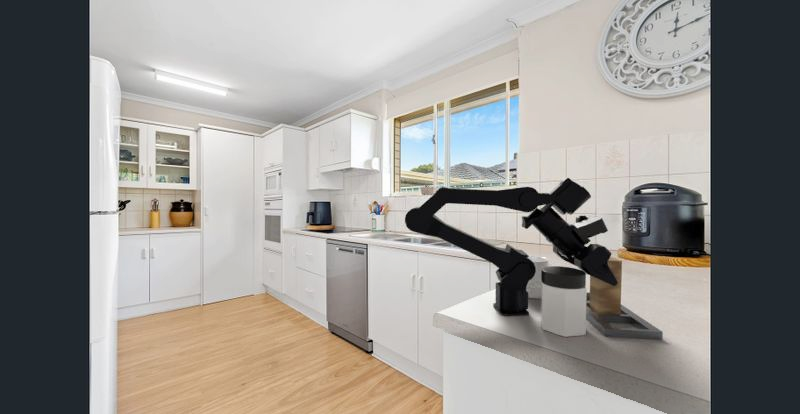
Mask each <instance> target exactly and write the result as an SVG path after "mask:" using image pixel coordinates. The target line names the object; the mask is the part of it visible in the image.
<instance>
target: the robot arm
mask: <svg viewBox="0 0 800 414" xmlns="http://www.w3.org/2000/svg"><path fill="white" fill-rule="evenodd" d="M591 198H592V195H591V193H590V192H589V191H588V189H586V188H585V187H584V186H582V185H580V184H579V183H577V182H575V181H573V180H572V178H569V177H565V178H563V179H562V180H561V181H560V183H559V184H558V185H556V187H555V188H553V189H552V191H550V192H549V193H548V192H539V191H538V190H537V189H535V188H534V187H531V186H517V187H510V188H503V189H497V190H496V189H495V190H493V189H492V190H491V189H473V188H472V189H470V188H469V189H468V188H449V187H447V186H446V187H445V186H444V187H442V186H441V187H440V188H437V190H436V192H434V194H433V195H431V197H429V198H428V199H427V200H426V201H425V202H424V203H423V204H421V205H420V206H416V207H413V208H411V209H410V210H408V211H407V212H406V214H405V217H404V223H405V227H406V228H407V229H408V230H409V231H411V232H413V233H417V234H421V235H424V236H429V237H433V238H434V237H435V238H439V239H441V240H443V241H444V242H446V243H447V242H448V243H449V244H451V245H453V246H456V247H457V248H459V249H462V250H464V251H466V252H468V253H470V254H472V255H475V256H477V257H479V258H481V259H483V260H485V261H487V262H489V263H492V264H493V265H494V266H496V267H497V270H496V271H495V275H496V277H497V279H498V281H499V282H495V302H494V303H492V304H493V305H492V306H493V307H494V309H495V310H496V311H498V313H499V314H500V315H502V316H521V315H523V316H525V315H530V312H529V310H528V309H529V298H528V292H527V291H526V286H527V284H528V281H529V280H531V279H532V278H533V277H534V275H535V272H536V267H535V265H534V263H533V262H532V261H531V260H530V259H529V258H528V257H529V256H530V255H528V254H527V253H526V252H525V251H524V250H522V249H517V248H515V247H513V246H512V245H510V244H509V243H506V245H505V248H503V247H500V246H495V245H493V244H491V243H489V242H487V241H484V240H482V239H480V238H479V237H476V236H474V235H472V234H469V233H468V232H466V231H463V230H461V229H460V228H457V227H455V226H453V225H450V224H448V223H447V222H445V221H443V220H442V219H440V218H439V217H438V216H437V215H436V213H437V212H439V211H440V210H441V209H442V208H443V207H444V206H445V205H446V204H453V205H454V204H455V205H456V204H457V205H472V206H473V205H474V206H477V205H478V206H495V207H496V206H497V207H501V208H504V209H509V210H513V211H514V210H515V211H518V212H522V213H523V212H524V213H529V214H528V215H527V216H525V215H522V216H521V219H522V220H521V227H522V228H524V229H525V230H526V229H527V230H528V229H529V228H530V227H531V226H533V228H535V229H536V230H537V231H538V232H539V233H540V234H541V235H542V236H543V237H544V238H545V241H547V242H548V243H549V244H551V245H552V252H553V253H554V254H555V255H556V256H557V257H558V258H560V259H561V260H564V262H567V263H569V264H571V265H573V266H575V267H577V269H579V270H582V271H584V272H585V273H586V275H588V276H589V277H590V276H593V277H595V278H597V279H599V280H602V281H604V282H606V283H608V284H611V285H613V286H615V285H617V284H618V281H617V280H616V278H615V276H614V275H613V273H612V271H611V269H610V268H609V266H608V260H609V259H610V257H612V254H613V253H612V251H610V250H608V248H607V247H606V246H603V245H602V244H601V245H600V244H598V243H590V242H591V240H590V238H593V237H595V236H597V235H600V234H606V233H607V232H608V231H609V230H608V228H607V225H606V223H605V221H604V219H603V218H602V217H600V216H589V217H587V216H586V215H584V214H580V215H578V216H576V217H575V222H574V223H571V224H570V223H568V222H567V221H566V220H565V219H564V218H563V217H562V216H565V214H567V215H573V214H575V212H576V211H577V210H578V209H580V208H581V207H582V206H583V205H584V204H585V203H586V202H588V201H589V200H590V199H591ZM540 206H542V207H541V208H540V209H539V208H538V207H540ZM555 210H556V211H555ZM561 215H562V216H561ZM589 243H590V244H589ZM586 245H588V246H586Z"/></svg>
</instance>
